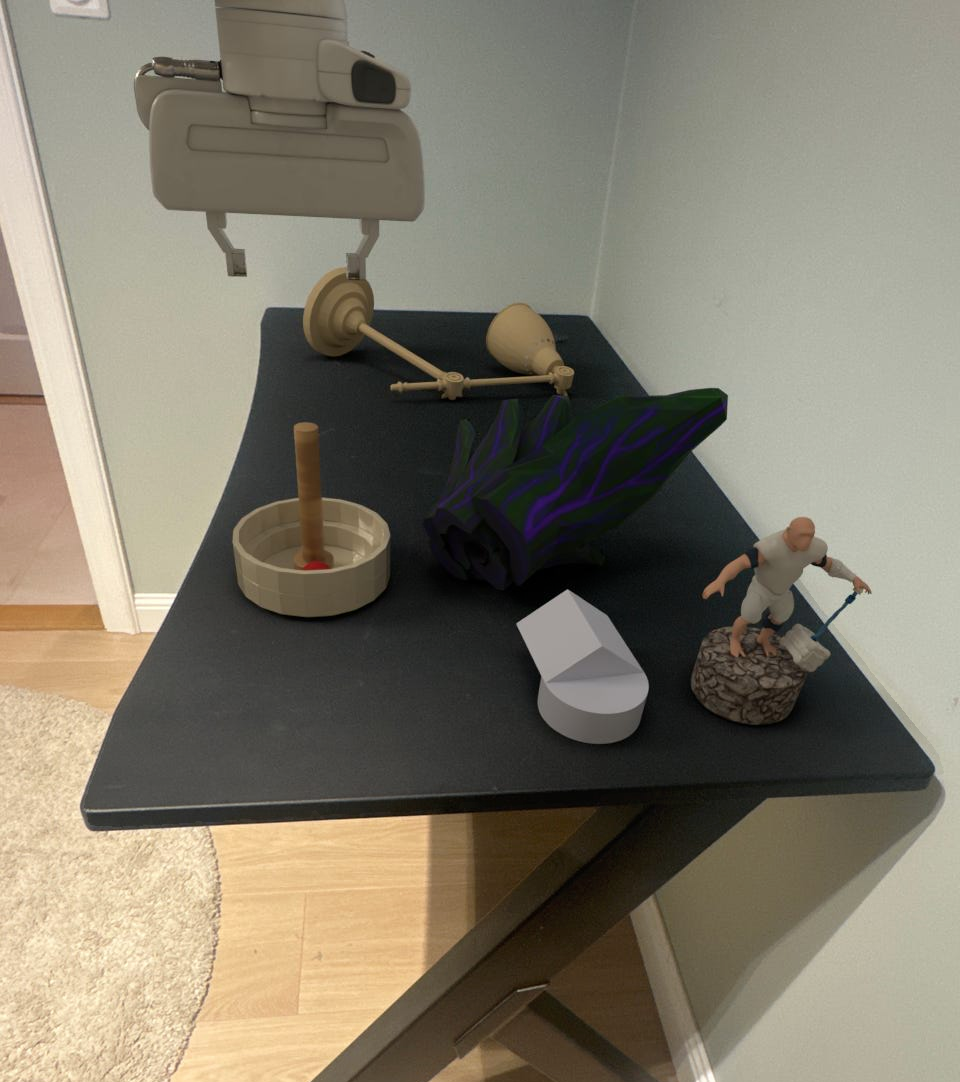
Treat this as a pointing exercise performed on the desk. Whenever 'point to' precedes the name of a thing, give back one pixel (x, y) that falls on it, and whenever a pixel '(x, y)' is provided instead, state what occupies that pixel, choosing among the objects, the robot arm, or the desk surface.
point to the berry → (316, 566)
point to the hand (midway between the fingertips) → (297, 277)
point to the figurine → (766, 631)
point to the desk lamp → (344, 320)
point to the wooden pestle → (310, 497)
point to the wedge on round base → (584, 671)
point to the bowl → (278, 587)
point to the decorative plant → (560, 480)
